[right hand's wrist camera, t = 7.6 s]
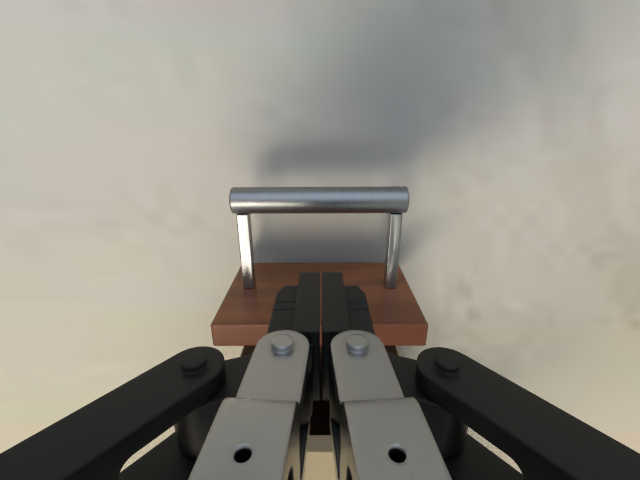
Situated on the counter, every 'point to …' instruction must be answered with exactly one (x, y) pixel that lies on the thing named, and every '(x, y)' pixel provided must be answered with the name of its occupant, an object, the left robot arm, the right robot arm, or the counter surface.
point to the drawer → (268, 278)
